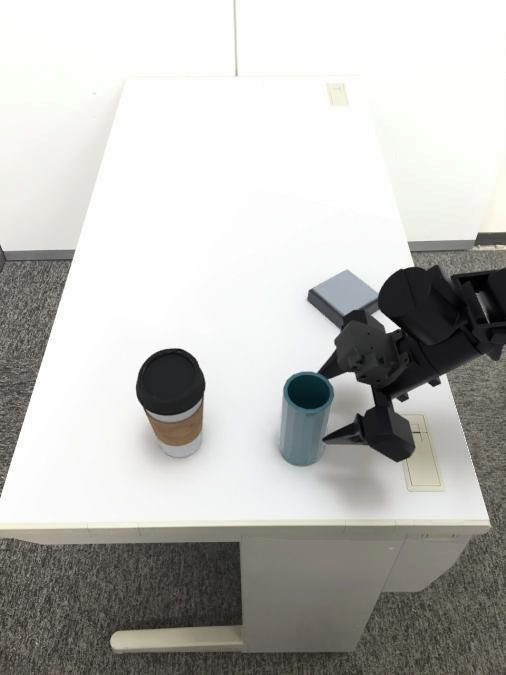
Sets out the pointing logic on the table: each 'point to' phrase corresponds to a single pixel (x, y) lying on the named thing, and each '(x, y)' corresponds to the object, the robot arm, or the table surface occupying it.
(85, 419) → the table surface
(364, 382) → the robot arm
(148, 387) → the coffee cup
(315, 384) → the tumbler
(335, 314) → the scale
